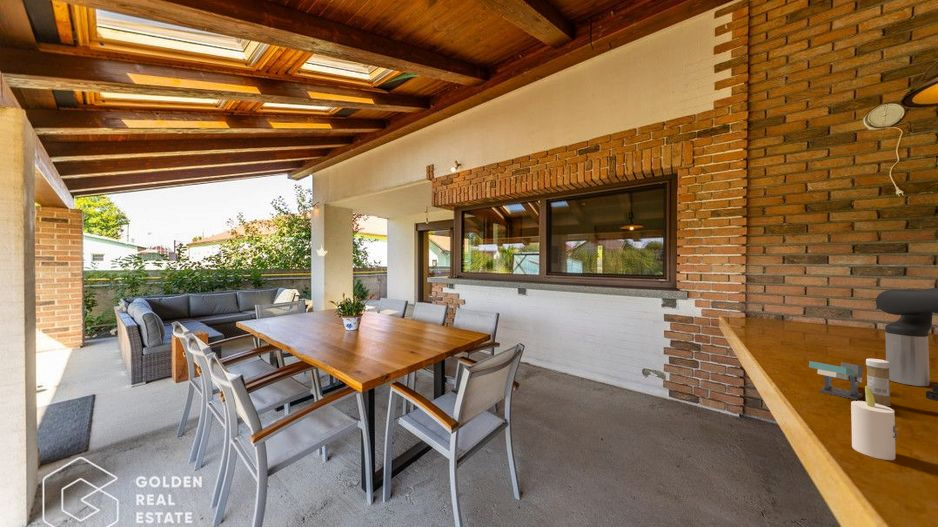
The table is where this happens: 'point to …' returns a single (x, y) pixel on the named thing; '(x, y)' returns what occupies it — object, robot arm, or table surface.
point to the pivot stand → (841, 392)
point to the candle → (873, 428)
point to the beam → (838, 370)
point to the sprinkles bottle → (879, 380)
